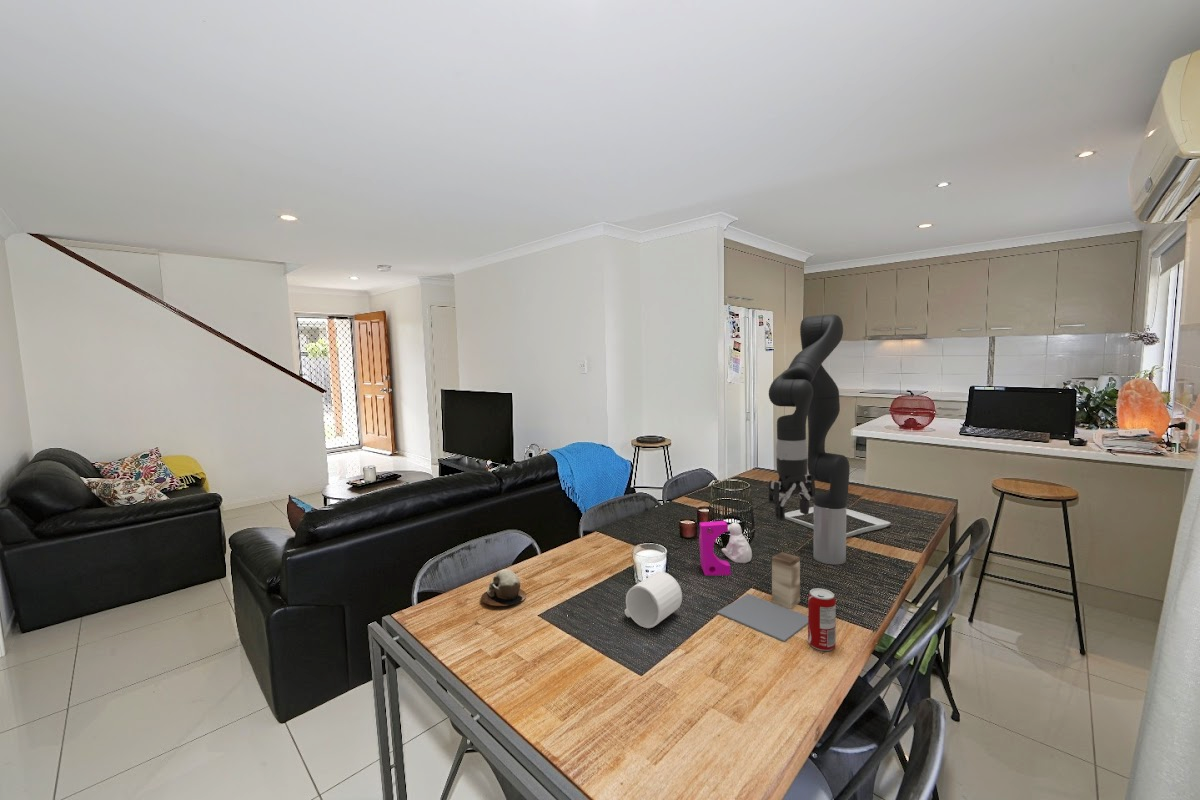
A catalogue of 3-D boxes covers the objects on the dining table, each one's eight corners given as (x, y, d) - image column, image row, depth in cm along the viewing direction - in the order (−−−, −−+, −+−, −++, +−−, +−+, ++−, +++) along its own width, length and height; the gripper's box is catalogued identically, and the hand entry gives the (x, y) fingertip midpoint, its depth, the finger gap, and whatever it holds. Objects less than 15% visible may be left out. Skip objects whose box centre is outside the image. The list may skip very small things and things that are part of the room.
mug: (669, 565, 125) (646, 579, 117) (689, 603, 122) (667, 621, 114) (636, 582, 132) (612, 597, 125) (655, 618, 129) (631, 636, 122)
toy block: (701, 568, 152) (725, 566, 152) (705, 576, 146) (730, 574, 146) (697, 520, 151) (722, 518, 151) (701, 526, 145) (727, 524, 145)
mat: (747, 595, 134) (747, 593, 134) (813, 619, 120) (813, 618, 120) (716, 613, 125) (716, 611, 125) (784, 642, 111) (784, 640, 111)
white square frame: (779, 522, 193) (779, 513, 193) (829, 512, 205) (829, 503, 204) (838, 545, 169) (839, 533, 168) (892, 531, 180) (892, 521, 180)
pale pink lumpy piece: (745, 567, 151) (745, 529, 151) (720, 560, 158) (720, 523, 157) (755, 561, 156) (755, 524, 155) (731, 554, 162) (731, 518, 161)
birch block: (781, 595, 133) (781, 552, 132) (799, 602, 129) (799, 557, 128) (772, 602, 130) (771, 557, 129) (790, 608, 126) (790, 562, 125)
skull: (468, 597, 134) (487, 561, 140) (493, 613, 140) (510, 579, 145) (496, 605, 126) (515, 568, 132) (521, 622, 132) (538, 586, 138)
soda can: (812, 635, 114) (812, 584, 113) (838, 643, 110) (838, 590, 109) (804, 646, 109) (804, 593, 108) (831, 655, 106) (831, 600, 105)
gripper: (799, 450, 136) (800, 508, 138) (760, 457, 130) (761, 517, 132) (822, 454, 130) (823, 515, 131) (782, 462, 123) (783, 525, 125)
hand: (792, 516), depth 131 cm, fingers open, 8 cm apart
